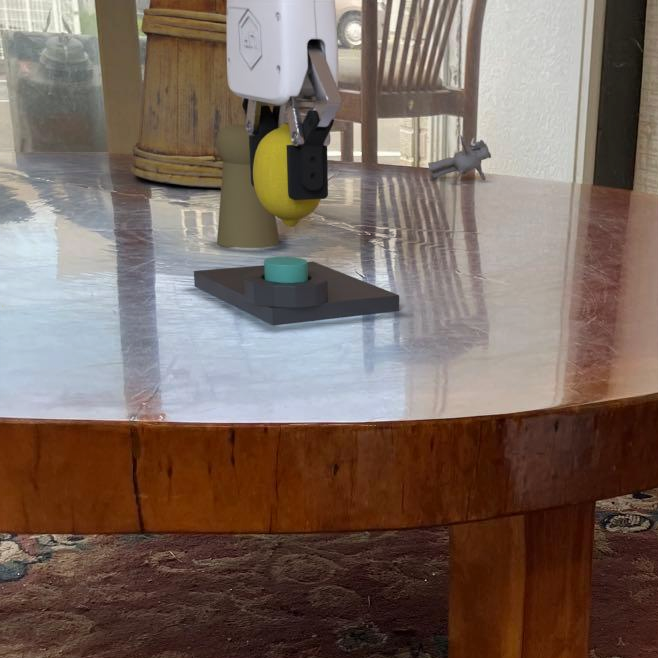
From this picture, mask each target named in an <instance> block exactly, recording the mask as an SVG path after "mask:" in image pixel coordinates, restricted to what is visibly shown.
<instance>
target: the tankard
mask: <svg viewBox="0 0 658 658" xmlns="http://www.w3.org/2000/svg"><path fill="white" fill-rule="evenodd" d="M148 6H149V7H148V8H144V9H143V17H142V23H141V27H140V29H141V32H142V33H143V34H144V35H146V41H145V56H144V69H143V70H144V71H143V83H142V96H141V109H140V119H139V130H138V140H137V142H135V144H134V146H132V149H131V151H132V153H133V154H132V156H131V157H132V158H131V161H132V165H131V168H130V172H131V174H132V175H134V176H135V177H138V178H142V179H144V180H148V181H153V182H157V183H162V184H171V185H179V186H184V187H185V186H186V187H194V188H207V189H209V188H210V189H221V184H222V171H223V160H222V159H221V157H220V156H219V154H218V151H217V148H216V138H217V134H218V132H219V130H220V129H222V128H223V127H226V126H230V125H246V118H247V116H246V113H245V111H244V109H243V107H242V103H243V101H242V99H241V97H239V96H237V95H235V94H234V93H233V92H232V91H231V89H230V88H229V86H228V77H227V0H149V5H148ZM269 107H270V109H271V111H272V112H273V106H269Z"/></svg>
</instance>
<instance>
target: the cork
mask: <svg viewBox="0 0 658 658" xmlns="http://www.w3.org/2000/svg"><path fill="white" fill-rule="evenodd" d="M216 148H217V151H218V154H219V156H220V157H221V159H222V160H223V171H222V184H221V188H220V199H219V210H218V211H219V212H218V226H217V236H216V237H217V239H216V244H217V245H218V246H221V247H223V248H224V247H225V248H239V249H240V248H241V249H242V248H243V249H263V248H272V247H276V246H278V245H280V244H281V242H280V235H279V231H278V224H277V217H276V216H274V215H272V214H271V213H269V212H268V211H267V210H266V209H265V208H264V206H263V205H262V204H261V202H260V200H259V198H258V196H257V194H256V190H255V187H253V186H252V184H251V171H250V149H249V134H248V133H247V130H246V125H230V126H226V127H223V128H222V129H220V130H219V132H218V134H217V138H216Z"/></svg>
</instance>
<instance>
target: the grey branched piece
mask: <svg viewBox="0 0 658 658" xmlns="http://www.w3.org/2000/svg"><path fill="white" fill-rule="evenodd" d="M459 138H460V144H461V146H462V147H463V150H460V151H457V152H455V153H454V155H453V157H450V156H449V157H447V158H443V159H440V160H437V161H432V162H427V164H428V169H429V171H430V172H431V175H432V177H433V179H438V178H440V177H442V176H444V175H447V174H451V173H454V172H457V173H458V174H457V177H456V178H455V179H454V183H456V182H457V180H458V179H459V178H460V177H461V176H462V174H463V175H465V174H467V173H468V172H470V171H471V170H474V169H475V170H476V172H478V175H479V176H480V178H481V179H482V180H483V181H485V180H486V176H485V173H484V172H483V170H482V161H484V160H486V159H487V160H488V159H491V158H492V154H491V152H490V150H489V147H488V145H487V144H486V142H485V141H484V140H483V139H480V140H479V141H475V142H474V140H475V137H472V139H471V141H470V146H469V145H467V142H466V140H465V138H464V137H463V135H462V134H461V135H460V137H459Z"/></svg>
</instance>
